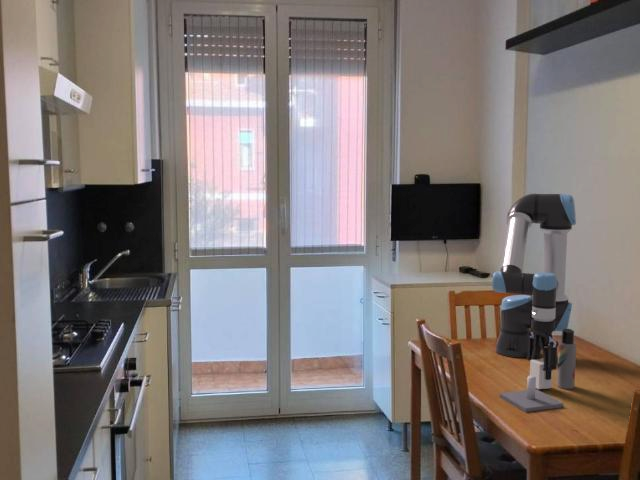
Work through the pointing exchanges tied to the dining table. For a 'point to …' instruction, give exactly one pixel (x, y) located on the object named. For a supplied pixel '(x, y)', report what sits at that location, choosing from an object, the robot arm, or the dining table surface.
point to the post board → (531, 403)
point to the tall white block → (538, 372)
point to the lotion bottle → (566, 360)
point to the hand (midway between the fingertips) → (540, 385)
